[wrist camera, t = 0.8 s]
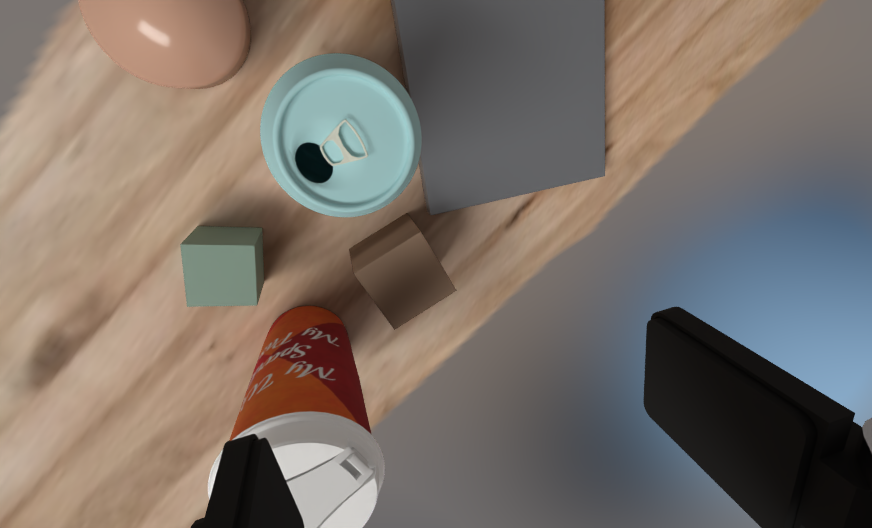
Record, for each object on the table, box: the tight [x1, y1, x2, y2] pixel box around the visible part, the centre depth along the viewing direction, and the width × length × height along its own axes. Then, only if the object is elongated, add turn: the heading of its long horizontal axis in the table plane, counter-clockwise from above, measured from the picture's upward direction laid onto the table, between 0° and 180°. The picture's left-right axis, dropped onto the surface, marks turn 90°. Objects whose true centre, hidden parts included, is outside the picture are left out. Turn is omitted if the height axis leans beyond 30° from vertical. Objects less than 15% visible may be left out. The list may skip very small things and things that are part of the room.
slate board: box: [391, 0, 605, 215], centre depth 30 cm, size 14×14×1 cm
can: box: [260, 53, 422, 217], centre depth 23 cm, size 7×7×12 cm
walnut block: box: [349, 213, 457, 330], centre depth 31 cm, size 5×5×5 cm
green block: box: [180, 226, 264, 307], centre depth 28 cm, size 4×4×4 cm
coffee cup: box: [208, 306, 385, 528], centre depth 27 cm, size 8×8×15 cm
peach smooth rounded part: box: [78, 0, 251, 89], centre depth 23 cm, size 7×7×4 cm
